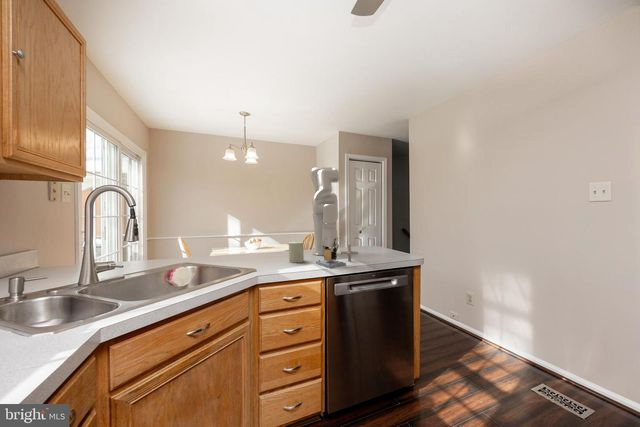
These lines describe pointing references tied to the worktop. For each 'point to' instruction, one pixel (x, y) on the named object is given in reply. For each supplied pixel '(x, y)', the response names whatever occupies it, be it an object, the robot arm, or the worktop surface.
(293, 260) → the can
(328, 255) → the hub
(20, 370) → the worktop surface
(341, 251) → the pipe connector
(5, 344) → the worktop surface
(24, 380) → the worktop surface
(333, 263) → the shaft stand
